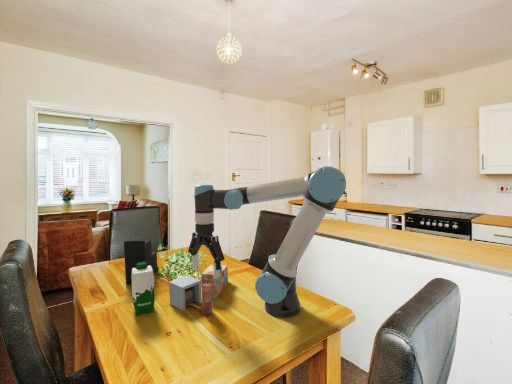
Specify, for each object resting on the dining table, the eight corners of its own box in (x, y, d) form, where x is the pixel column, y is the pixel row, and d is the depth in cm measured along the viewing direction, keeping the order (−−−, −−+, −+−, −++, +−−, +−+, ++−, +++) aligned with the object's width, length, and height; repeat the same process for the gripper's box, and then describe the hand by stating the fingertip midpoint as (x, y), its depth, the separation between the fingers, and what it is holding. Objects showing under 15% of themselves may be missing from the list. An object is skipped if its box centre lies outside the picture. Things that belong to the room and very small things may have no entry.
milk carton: (153, 303, 125) (151, 260, 124) (156, 312, 117) (154, 265, 116) (132, 307, 121) (130, 263, 120) (133, 317, 113) (131, 269, 112)
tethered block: (215, 312, 116) (214, 284, 115) (205, 317, 112) (205, 288, 111) (186, 299, 129) (185, 274, 128) (177, 303, 125) (176, 277, 124)
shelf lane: (201, 302, 125) (200, 280, 125) (183, 310, 118) (182, 287, 117) (188, 296, 132) (187, 275, 131) (169, 303, 124) (169, 281, 124)
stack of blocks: (217, 281, 150) (216, 259, 149) (228, 282, 149) (227, 259, 148) (201, 299, 129) (201, 273, 128) (214, 300, 128) (213, 274, 127)
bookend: (141, 269, 170) (139, 232, 169) (158, 269, 171) (157, 231, 169) (125, 285, 147) (123, 241, 145) (146, 284, 148) (144, 240, 146)
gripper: (232, 224, 107) (233, 277, 109) (193, 218, 123) (194, 264, 125) (218, 227, 102) (219, 283, 103) (178, 220, 118) (180, 269, 119)
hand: (205, 273), depth 114 cm, fingers open, 13 cm apart
